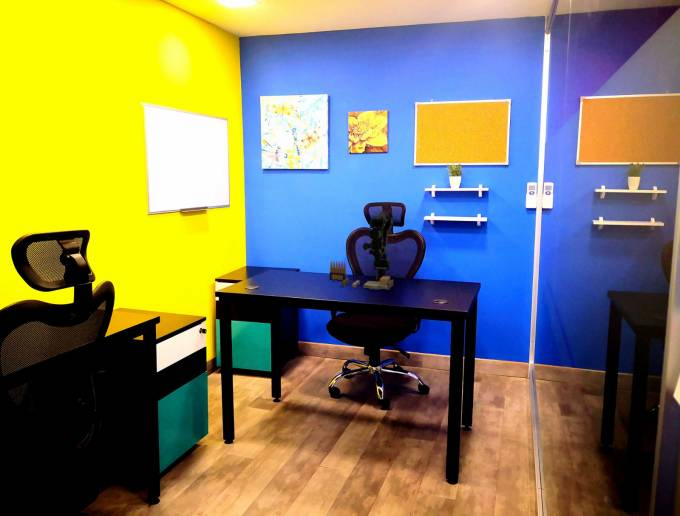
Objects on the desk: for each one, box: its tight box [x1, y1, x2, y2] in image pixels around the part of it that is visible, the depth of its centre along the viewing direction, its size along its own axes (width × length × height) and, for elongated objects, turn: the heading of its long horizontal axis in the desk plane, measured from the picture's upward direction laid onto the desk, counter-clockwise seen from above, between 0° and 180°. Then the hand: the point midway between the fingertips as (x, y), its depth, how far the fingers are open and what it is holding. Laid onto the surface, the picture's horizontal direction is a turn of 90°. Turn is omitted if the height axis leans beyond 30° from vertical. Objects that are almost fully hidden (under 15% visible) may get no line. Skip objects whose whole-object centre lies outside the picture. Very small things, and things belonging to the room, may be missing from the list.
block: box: [379, 275, 391, 286], centre depth 305 cm, size 10×4×4 cm, turn 165°
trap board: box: [341, 277, 394, 291], centre depth 308 cm, size 13×27×4 cm, turn 75°
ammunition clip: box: [328, 260, 347, 282], centre depth 324 cm, size 11×2×12 cm, turn 63°
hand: (377, 265), depth 315 cm, fingers closed
